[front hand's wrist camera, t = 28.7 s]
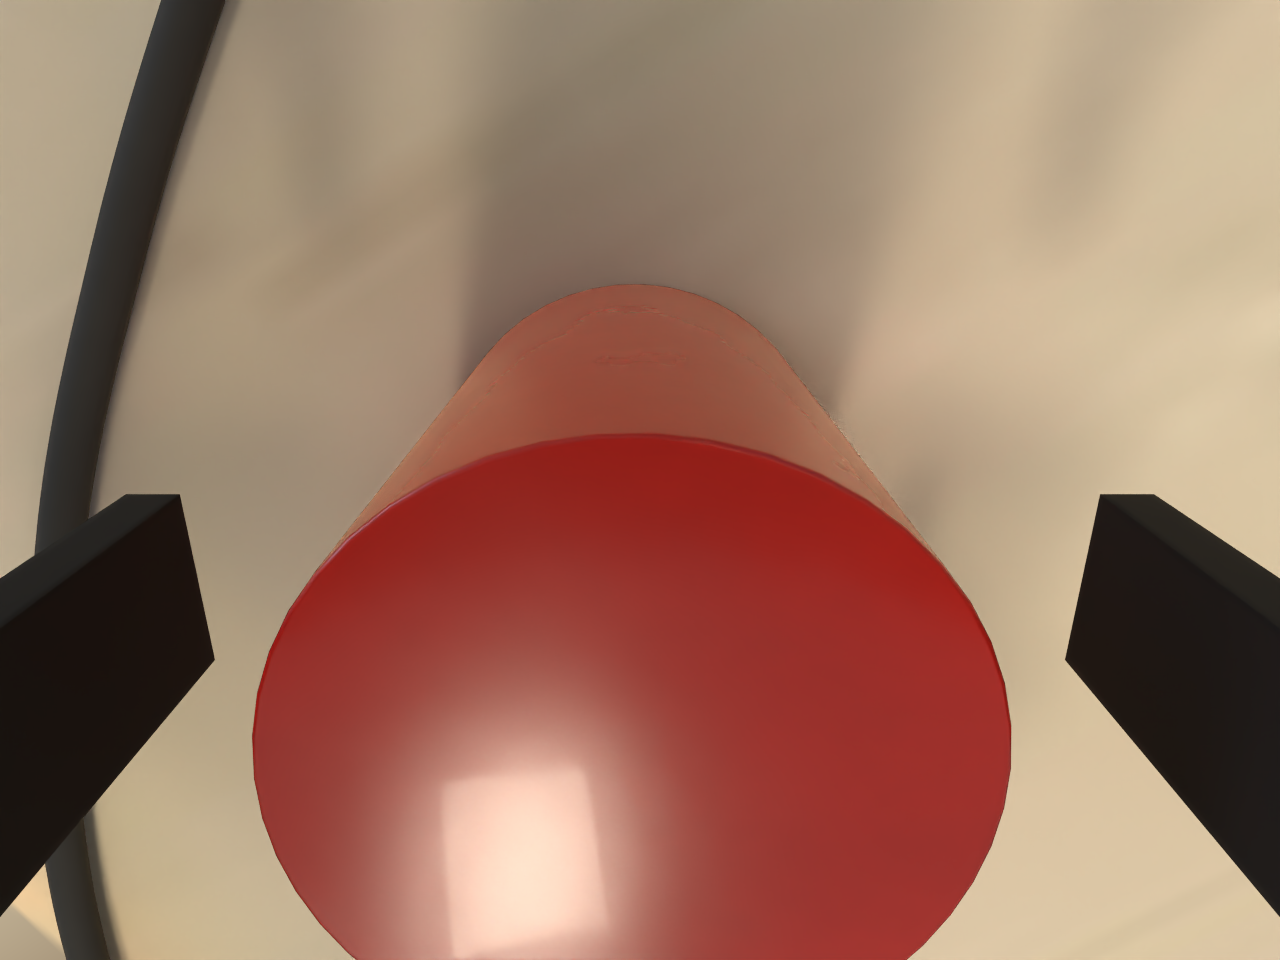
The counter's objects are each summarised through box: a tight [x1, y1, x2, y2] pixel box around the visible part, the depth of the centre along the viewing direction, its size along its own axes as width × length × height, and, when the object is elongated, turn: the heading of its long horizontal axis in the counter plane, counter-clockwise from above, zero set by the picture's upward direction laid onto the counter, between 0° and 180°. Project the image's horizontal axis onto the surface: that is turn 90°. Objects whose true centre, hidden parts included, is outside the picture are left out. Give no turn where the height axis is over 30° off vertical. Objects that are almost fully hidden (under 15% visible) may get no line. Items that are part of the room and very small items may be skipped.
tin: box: [252, 284, 1011, 960], centre depth 13 cm, size 8×8×10 cm
